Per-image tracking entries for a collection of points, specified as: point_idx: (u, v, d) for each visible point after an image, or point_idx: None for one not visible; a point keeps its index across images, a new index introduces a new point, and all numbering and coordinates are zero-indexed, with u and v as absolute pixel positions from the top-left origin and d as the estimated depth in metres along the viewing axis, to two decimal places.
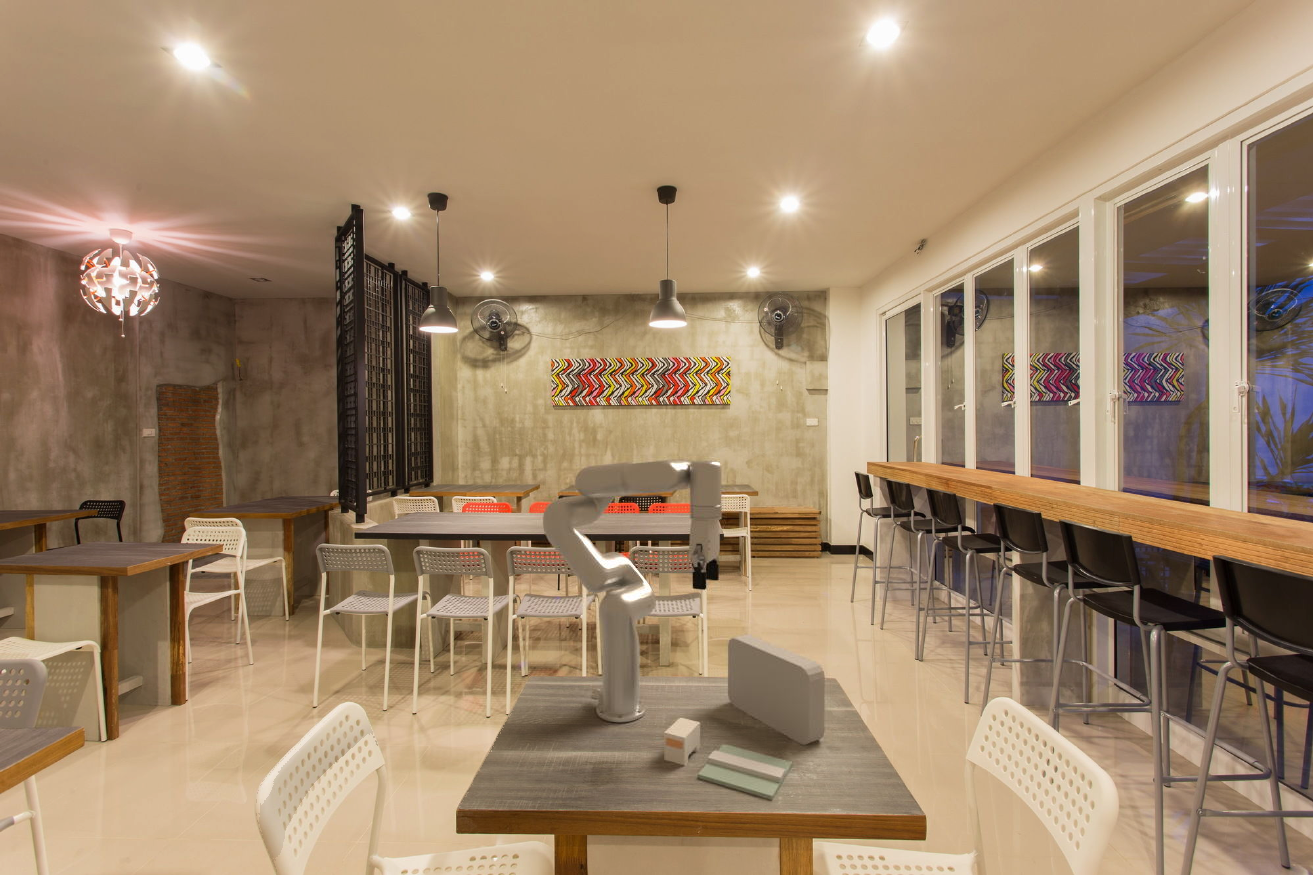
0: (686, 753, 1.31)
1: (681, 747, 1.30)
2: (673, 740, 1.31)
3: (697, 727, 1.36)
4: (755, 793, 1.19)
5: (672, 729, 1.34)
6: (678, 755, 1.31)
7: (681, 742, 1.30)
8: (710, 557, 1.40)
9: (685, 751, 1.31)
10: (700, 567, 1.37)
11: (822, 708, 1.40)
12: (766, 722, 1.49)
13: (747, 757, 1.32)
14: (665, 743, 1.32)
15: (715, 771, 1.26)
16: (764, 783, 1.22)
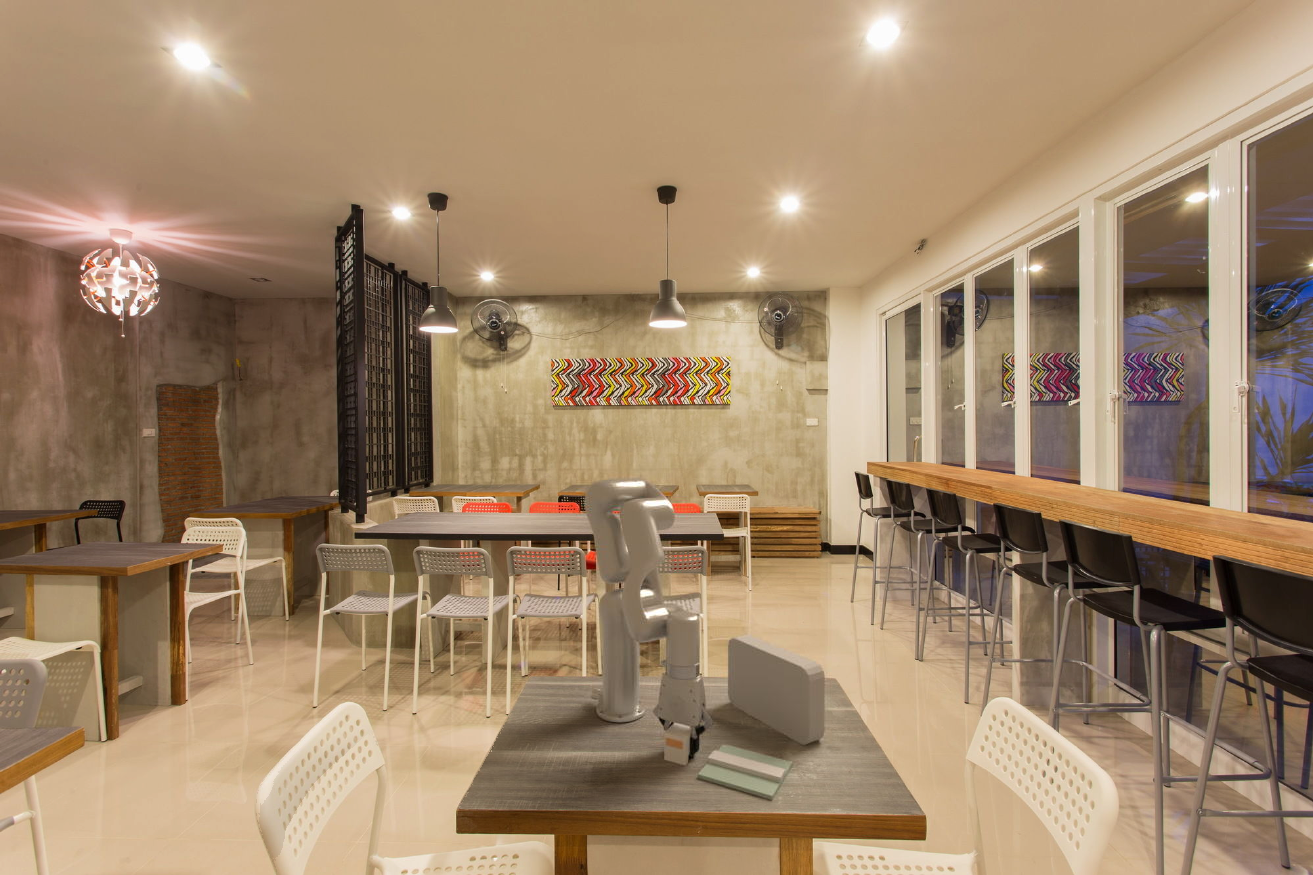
0: (686, 753, 1.31)
1: (681, 747, 1.30)
2: (673, 740, 1.31)
3: None
4: (755, 793, 1.19)
5: (672, 729, 1.34)
6: (678, 755, 1.31)
7: (681, 742, 1.30)
8: None
9: (685, 751, 1.31)
10: None
11: (822, 708, 1.40)
12: (766, 722, 1.49)
13: (747, 757, 1.32)
14: (665, 743, 1.32)
15: (715, 771, 1.26)
16: (764, 783, 1.22)
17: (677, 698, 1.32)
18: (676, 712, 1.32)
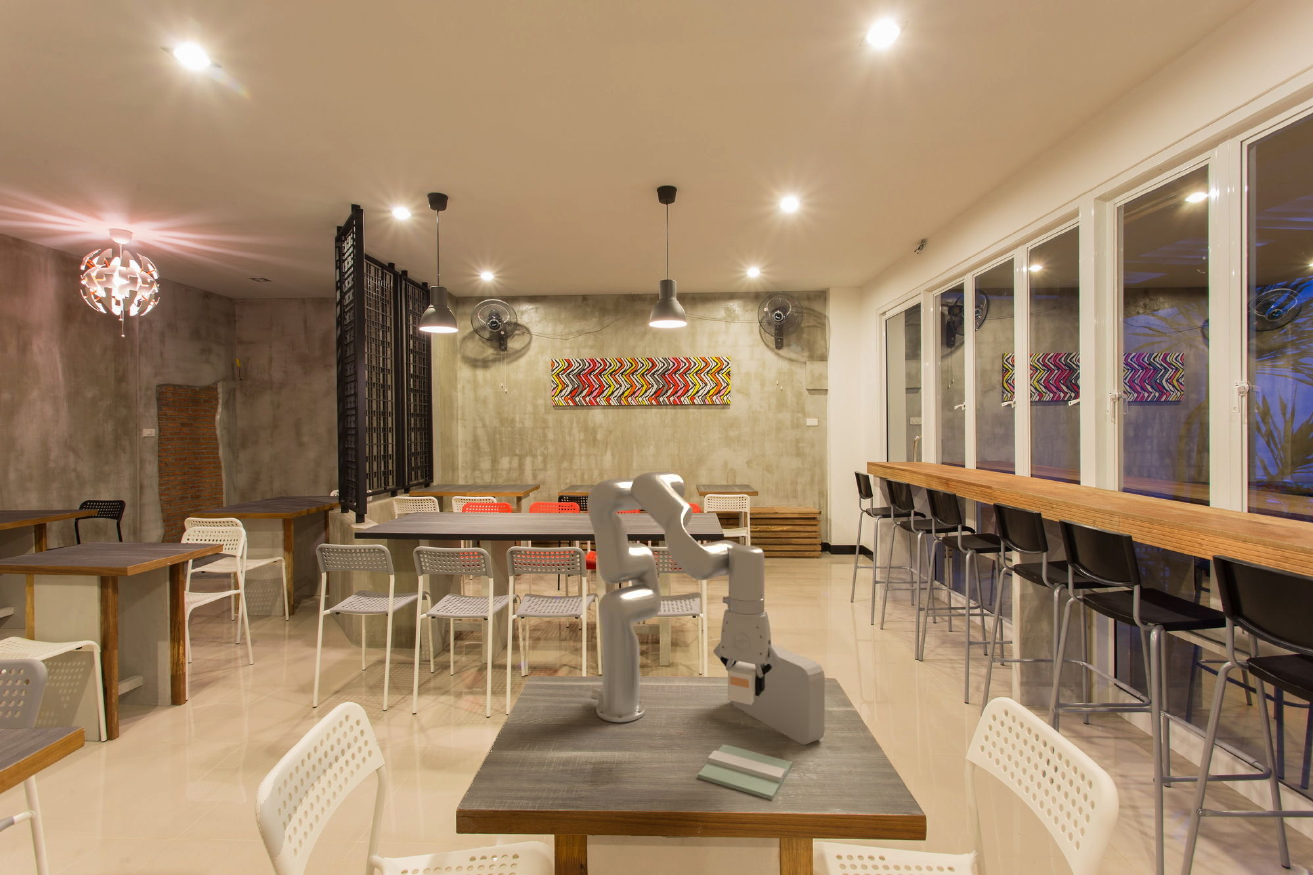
0: (752, 692, 1.24)
1: (747, 686, 1.23)
2: (738, 679, 1.24)
3: None
4: (755, 793, 1.19)
5: (735, 668, 1.27)
6: (744, 694, 1.24)
7: (747, 680, 1.23)
8: None
9: (752, 689, 1.23)
10: None
11: (822, 708, 1.40)
12: (766, 722, 1.49)
13: (747, 757, 1.32)
14: (729, 682, 1.25)
15: (715, 771, 1.26)
16: (764, 783, 1.22)
17: (742, 635, 1.25)
18: (740, 650, 1.25)
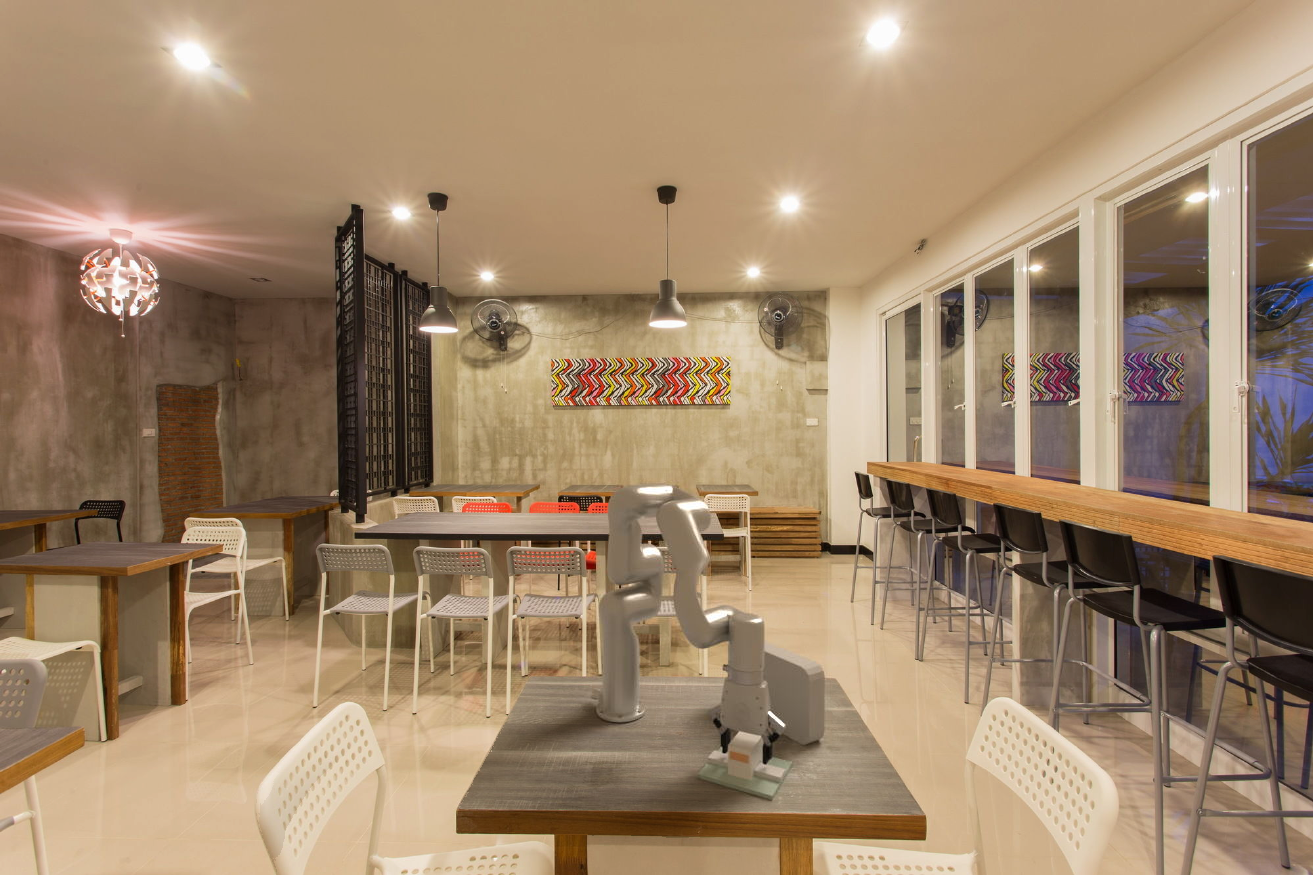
0: (752, 767, 1.24)
1: (747, 761, 1.23)
2: (737, 754, 1.24)
3: (761, 739, 1.29)
4: (755, 793, 1.19)
5: (735, 741, 1.27)
6: (743, 769, 1.24)
7: (746, 756, 1.23)
8: None
9: (751, 765, 1.24)
10: None
11: (822, 708, 1.40)
12: None
13: None
14: (729, 757, 1.25)
15: (715, 771, 1.26)
16: (764, 783, 1.22)
17: (742, 705, 1.25)
18: (740, 720, 1.25)
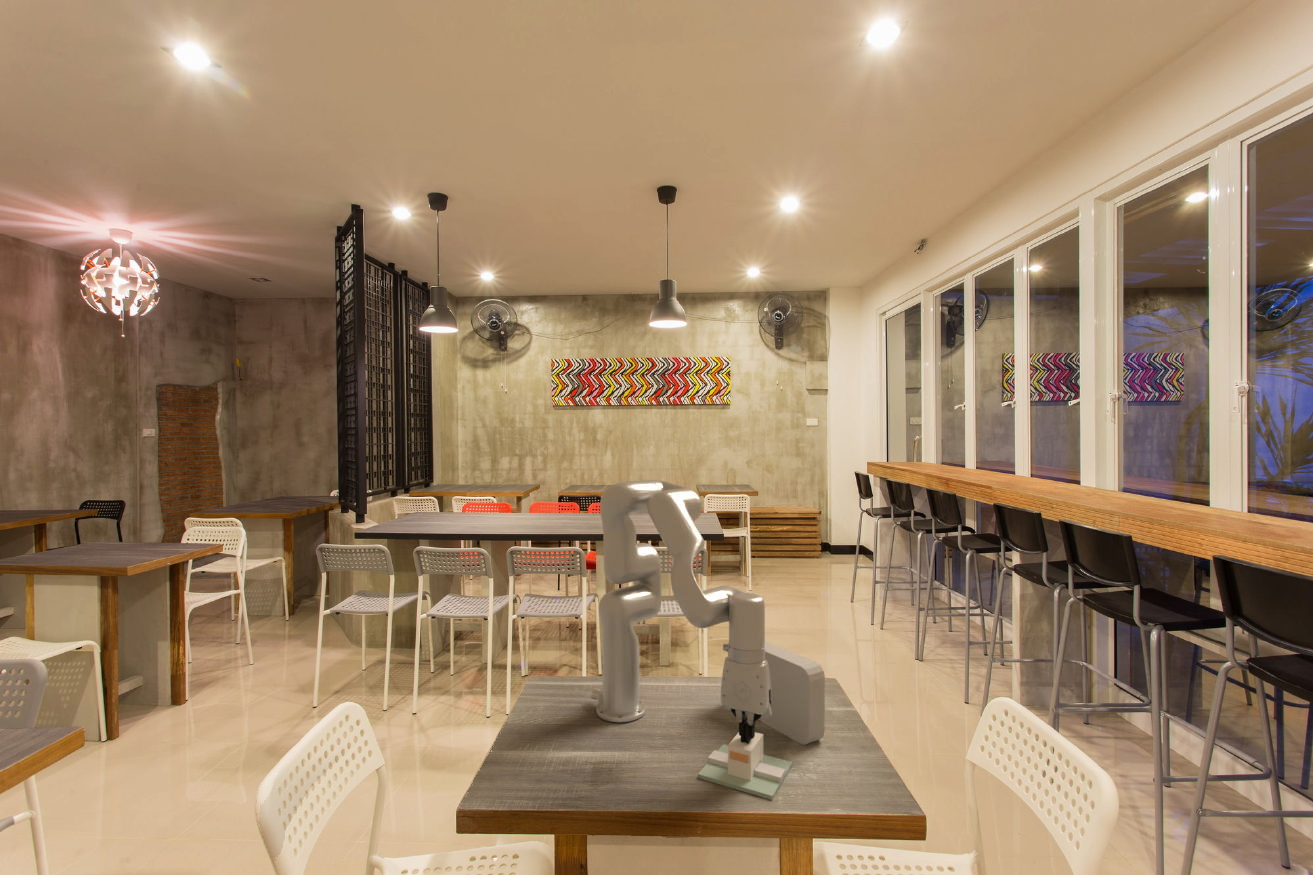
0: (752, 767, 1.24)
1: (747, 761, 1.23)
2: (737, 754, 1.24)
3: (761, 739, 1.29)
4: (755, 793, 1.19)
5: (735, 741, 1.27)
6: (743, 769, 1.24)
7: (746, 756, 1.23)
8: None
9: (751, 765, 1.23)
10: None
11: (822, 708, 1.40)
12: (766, 722, 1.49)
13: None
14: (729, 757, 1.25)
15: (715, 771, 1.26)
16: (764, 783, 1.22)
17: (742, 684, 1.25)
18: (741, 699, 1.25)
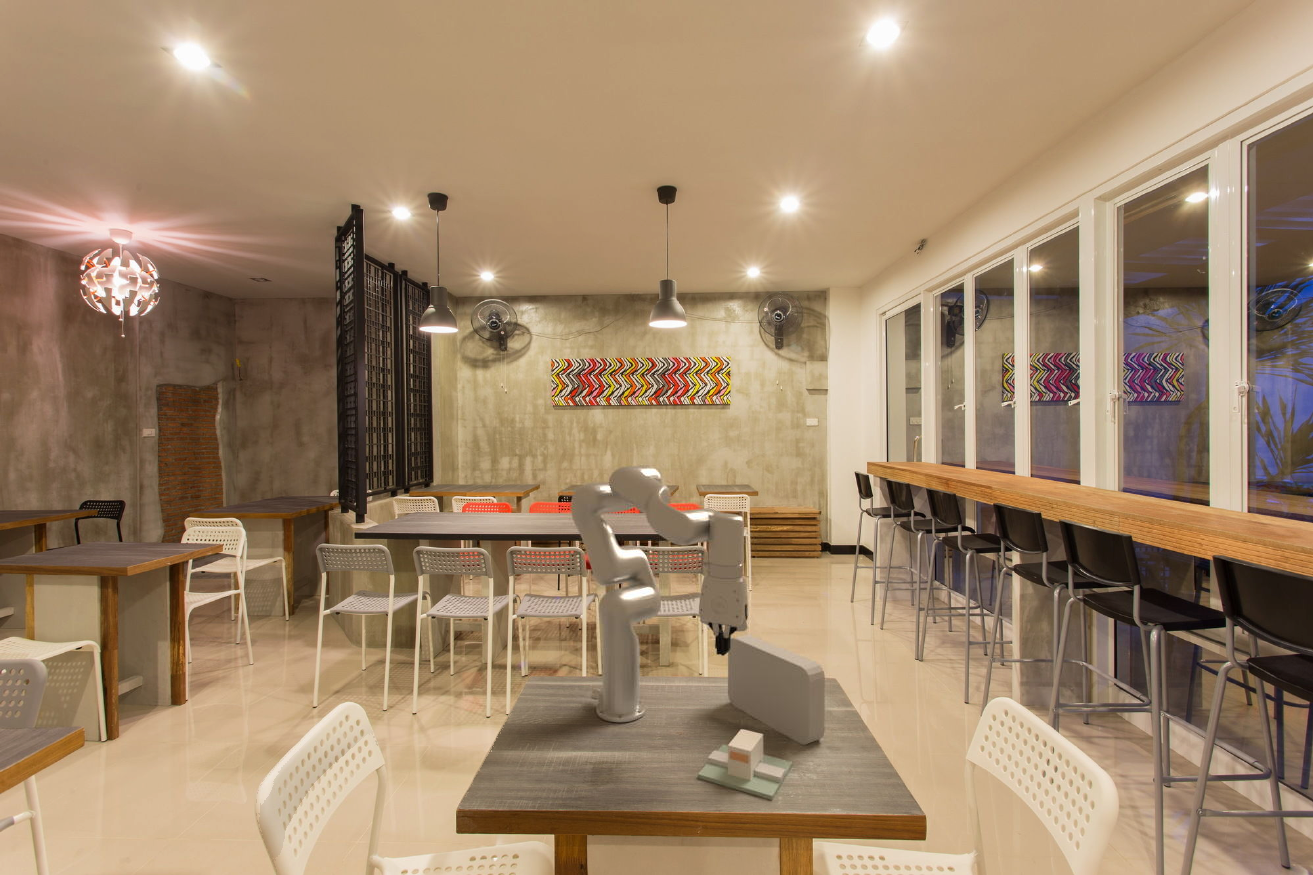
0: (752, 767, 1.24)
1: (747, 761, 1.23)
2: (737, 754, 1.24)
3: (761, 739, 1.29)
4: (755, 793, 1.19)
5: (735, 741, 1.27)
6: (743, 769, 1.24)
7: (746, 756, 1.23)
8: None
9: (751, 765, 1.24)
10: None
11: (822, 708, 1.40)
12: (766, 722, 1.49)
13: None
14: (729, 757, 1.25)
15: (715, 771, 1.26)
16: (764, 783, 1.22)
17: (719, 598, 1.30)
18: (718, 613, 1.30)
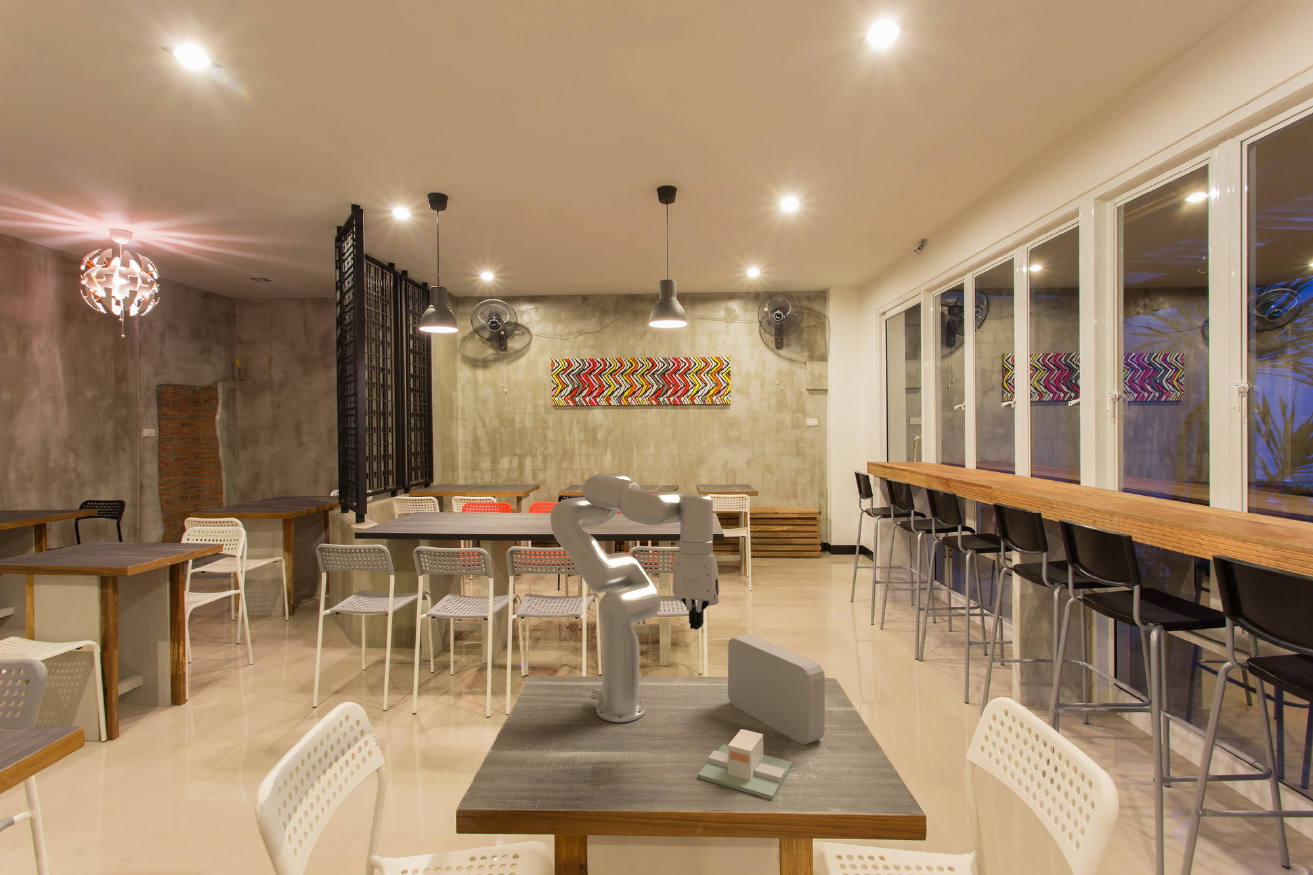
0: (752, 767, 1.24)
1: (747, 761, 1.23)
2: (737, 754, 1.24)
3: (761, 739, 1.29)
4: (755, 793, 1.19)
5: (735, 741, 1.27)
6: (743, 769, 1.24)
7: (746, 756, 1.23)
8: None
9: (751, 765, 1.24)
10: None
11: (822, 708, 1.40)
12: (766, 722, 1.49)
13: None
14: (729, 757, 1.25)
15: (715, 771, 1.26)
16: (764, 783, 1.22)
17: (691, 574, 1.36)
18: (690, 588, 1.36)
